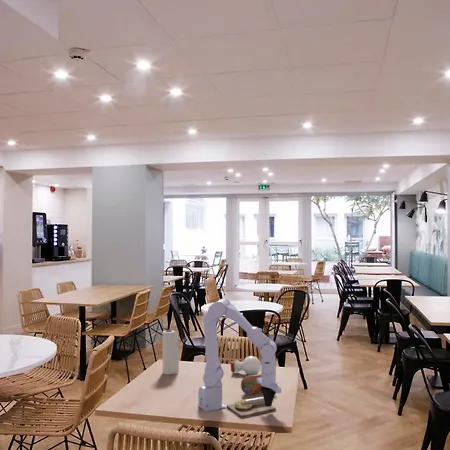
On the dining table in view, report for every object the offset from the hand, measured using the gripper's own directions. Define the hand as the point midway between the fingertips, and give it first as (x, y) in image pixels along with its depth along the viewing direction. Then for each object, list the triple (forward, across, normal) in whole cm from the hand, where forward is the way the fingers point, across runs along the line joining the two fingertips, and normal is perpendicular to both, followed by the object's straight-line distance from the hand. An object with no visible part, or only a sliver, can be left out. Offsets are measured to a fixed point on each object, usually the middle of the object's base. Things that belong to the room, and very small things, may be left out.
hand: (268, 405), depth 187 cm
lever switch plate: (+2, +6, +4) cm, 8 cm away
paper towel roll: (+3, +66, +16) cm, 68 cm away
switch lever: (+1, +7, +4) cm, 8 cm away
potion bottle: (+3, +46, -17) cm, 49 cm away
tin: (+3, +20, -8) cm, 22 cm away
